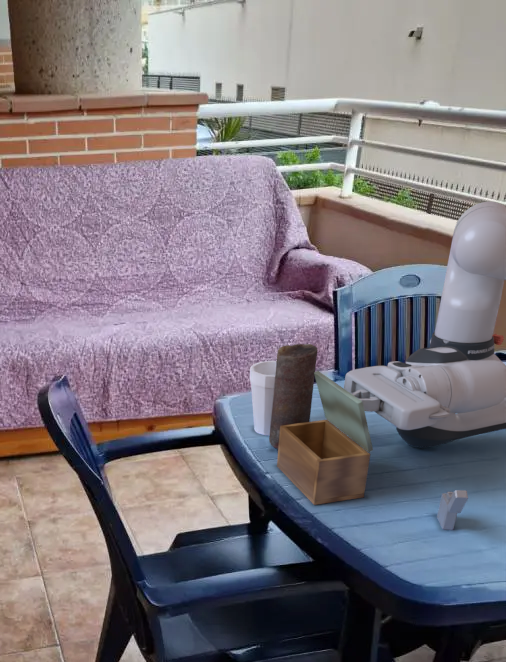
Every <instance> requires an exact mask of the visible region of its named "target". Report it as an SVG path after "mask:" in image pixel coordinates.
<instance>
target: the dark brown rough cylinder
mask: <svg viewBox="0 0 506 662" xmlns="http://www.w3.org/2000/svg"><path fill="white" fill-rule="evenodd" d="M318 350H319V349H318V347H317V346H315V345H314V344H312V343H304V344H303V343H296V344H292V345H289V344H288V345H282V346H280V347H279V348H278V350H277V353H276V354H277V355H276V361H277V362H276V373H275V384H274V396H273V405H272V416H271V425H270V436H269V435H268V437H269V439H268V441H269V444H270V446H271V447H273V449H277V450H278V446H279V434H280V426H283V425H290V424H297V423H305V422H311V415H312V414H311V412H312V403H313V392H314V386H315V385H314V384H315V375H314V372H316V367H317V366H316V365H317V361H318Z"/></svg>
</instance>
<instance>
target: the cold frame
mask: <svg viewBox="0 0 506 662" xmlns="http://www.w3.org/2000/svg"><path fill="white" fill-rule="evenodd" d="M370 458H371V452H368V451H366V450H365V449H364V448H363V447H361V446H360V445H359V444H358V443H356V442H355V441H354V440H353V439H351V438H350V437H349V436H348V435H346V434H345V433H344V432H343V431H341V430H340V429H339V428H338V427H336V426H335V425H334V424H333V423H331V422H330V421H329V420H327V419H321V420H313V421H310V422H305V423H297V424H290V425H283V426H280V434H279V446H278V449H277V459H276V467H277V468H278V469H279V470H280V472H282V473H283V474H284V475H285V477H286V478H287V479H288V480H289V481H290V482H291V483H292V484H293V485H294V486H295V487H296V489H298V490H299V491H300V492H301V493H302V495H304V496H305V498H307V499H308V500H309V501H310V503H312V504H313V506H318V505H323V504H324V505H325V504H330V503H336V502H343V501H348V500H357V499H362V498H365V491H366V486H367V481H368V473H369V466H370Z"/></svg>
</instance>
